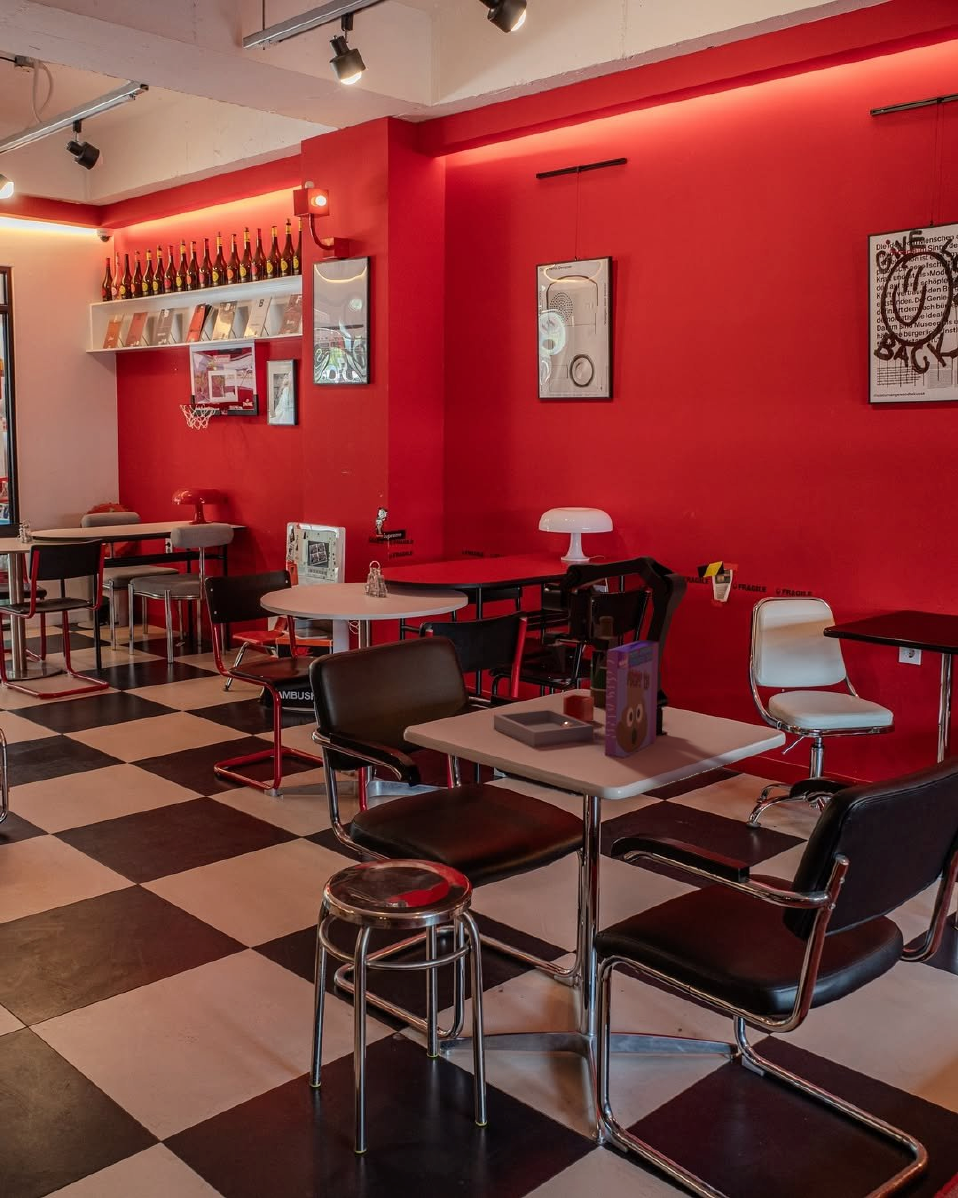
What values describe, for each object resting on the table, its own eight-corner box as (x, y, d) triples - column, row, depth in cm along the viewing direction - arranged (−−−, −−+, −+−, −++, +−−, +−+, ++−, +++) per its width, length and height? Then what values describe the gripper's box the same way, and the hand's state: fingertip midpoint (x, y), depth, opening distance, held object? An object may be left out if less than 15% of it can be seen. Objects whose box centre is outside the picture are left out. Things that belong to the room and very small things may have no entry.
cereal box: (624, 758, 249) (626, 651, 246) (604, 755, 252) (607, 649, 249) (655, 742, 264) (658, 641, 261) (636, 739, 266) (639, 639, 263)
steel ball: (573, 728, 265) (575, 736, 267) (573, 718, 267) (575, 727, 269) (560, 728, 265) (562, 737, 267) (561, 719, 268) (563, 728, 269)
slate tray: (593, 740, 265) (593, 725, 265) (534, 747, 258) (534, 732, 257) (550, 722, 283) (550, 708, 282) (493, 728, 276) (494, 714, 275)
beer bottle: (618, 702, 308) (620, 615, 305) (619, 708, 300) (621, 619, 297) (589, 701, 308) (591, 614, 305) (589, 707, 301) (591, 618, 298)
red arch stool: (593, 720, 286) (593, 697, 285) (584, 724, 281) (584, 700, 281) (572, 717, 289) (572, 694, 288) (563, 720, 285) (563, 697, 284)
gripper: (628, 612, 284) (626, 673, 286) (563, 606, 294) (561, 665, 296) (608, 617, 274) (606, 680, 276) (541, 611, 284) (540, 672, 286)
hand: (578, 674), depth 284 cm, fingers open, 9 cm apart
